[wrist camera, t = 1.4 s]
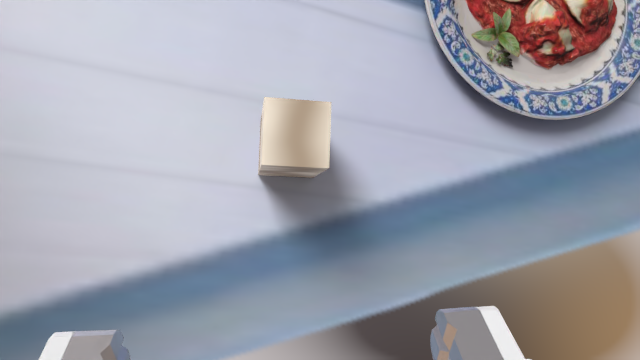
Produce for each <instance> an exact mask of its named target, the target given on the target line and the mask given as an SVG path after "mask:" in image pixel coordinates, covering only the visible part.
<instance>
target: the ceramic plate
mask: <svg viewBox="0 0 640 360" xmlns="http://www.w3.org/2000/svg"><path fill="white" fill-rule="evenodd" d="M425 5H426V11H427V14H428V18H429V21H430V25H431V27H432V30H433V32H434V35H435V37H436V39H437V41H438V43H439V45H440V47H441V49H442V51H443V52H444V54H445V55H446V57H447V59H448V60H449V61H450V63H451V64H452V65H453V67H454V68H455V69H456V71H457V72H458V73H459V74H460V75H461V76H462V77H463V78H464V80H465V81H466V82H468V83H469V84H470V85H471V86H472V87H473V88H474V89H475V90H476V91H478V92H479V93H480V94H482V95H483V96H484V97H486V98H487V99H489V100H491V101H492V102H494V103H495V104H497V105H499V106H501V107H503V108H506V109H508V110H510V111H512V112H514V113H518V114H521V115H525V116H528V117H532V118H538V119H548V120H561V119H571V118H577V117H581V116H585V115H589V114H591V113H594V112H596V111H599V110H601V109H603V108H604V107H606V106H608V105H610V104H611V103H612V102H614V101H615V100H617V99H618V98H619V97H621V96H622V95H623V94H624V93H625V92H626V91H627V90H628V89H629V88H630V87H631V86H632V84H633V83H634V82H635V81H636V79H637V78H638V76H639V75H640V0H425Z"/></svg>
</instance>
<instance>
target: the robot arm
mask: <svg viewBox="0 0 640 360" xmlns="http://www.w3.org/2000/svg"><path fill="white" fill-rule="evenodd" d="M435 320H436V322H437V326H436V327H435V328H434V329H432V333H431V338H430V339H431V351H432V356H433V359H434V360H532V359H525V358H524V356H523V354H522V352H521V350H520V349H519V347H518V345H517V343H516V341H515V339H514V338H513V336H512V334H511V332H510V331H509V328H508V327H507V325H506V323H505V321H504V319H503V318H502V316H501V314H500V312H499V310H498V309H497V308H496V307H495V306H485V307H464V308H452V309H440V310H438V311H437V313H436V317H435ZM123 340H124V337H123V335H122V332H121V330H99V331H72V332H55V333H54V334H53V335H52V336H51V337H50V338H49V339H48V341H47V343H46V345H45V348H44V350H43V352H42V354H41V356H40V358H39V360H130V355H129V351H128V349H126V348H125V347H123V346H122V343H123Z"/></svg>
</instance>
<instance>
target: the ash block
mask: <svg viewBox="0 0 640 360" xmlns="http://www.w3.org/2000/svg"><path fill="white" fill-rule="evenodd" d="M330 127H331V102H322V101H309V100H296V99H283V98H270V97H264V102H263V109H262V115H261V125H260V147H259V169H258V175H267V176H288V177H308V178H314V177H315V176H317V175H319V174H320V173H322V172H324V171H326V170H327V169H329V158H330Z"/></svg>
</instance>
